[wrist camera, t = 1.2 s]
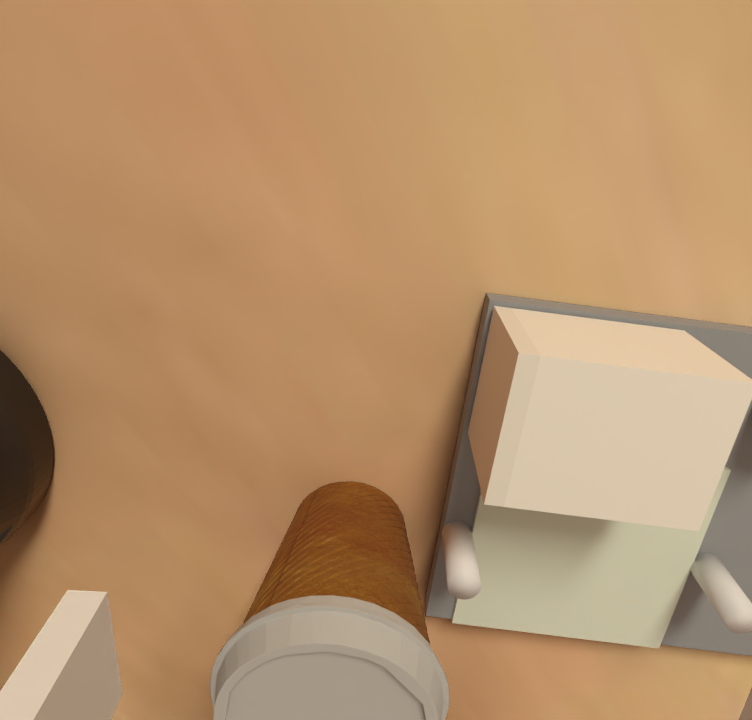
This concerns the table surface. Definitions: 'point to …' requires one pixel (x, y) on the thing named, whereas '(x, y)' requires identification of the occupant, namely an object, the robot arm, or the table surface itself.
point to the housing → (603, 419)
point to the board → (600, 540)
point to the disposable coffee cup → (335, 622)
